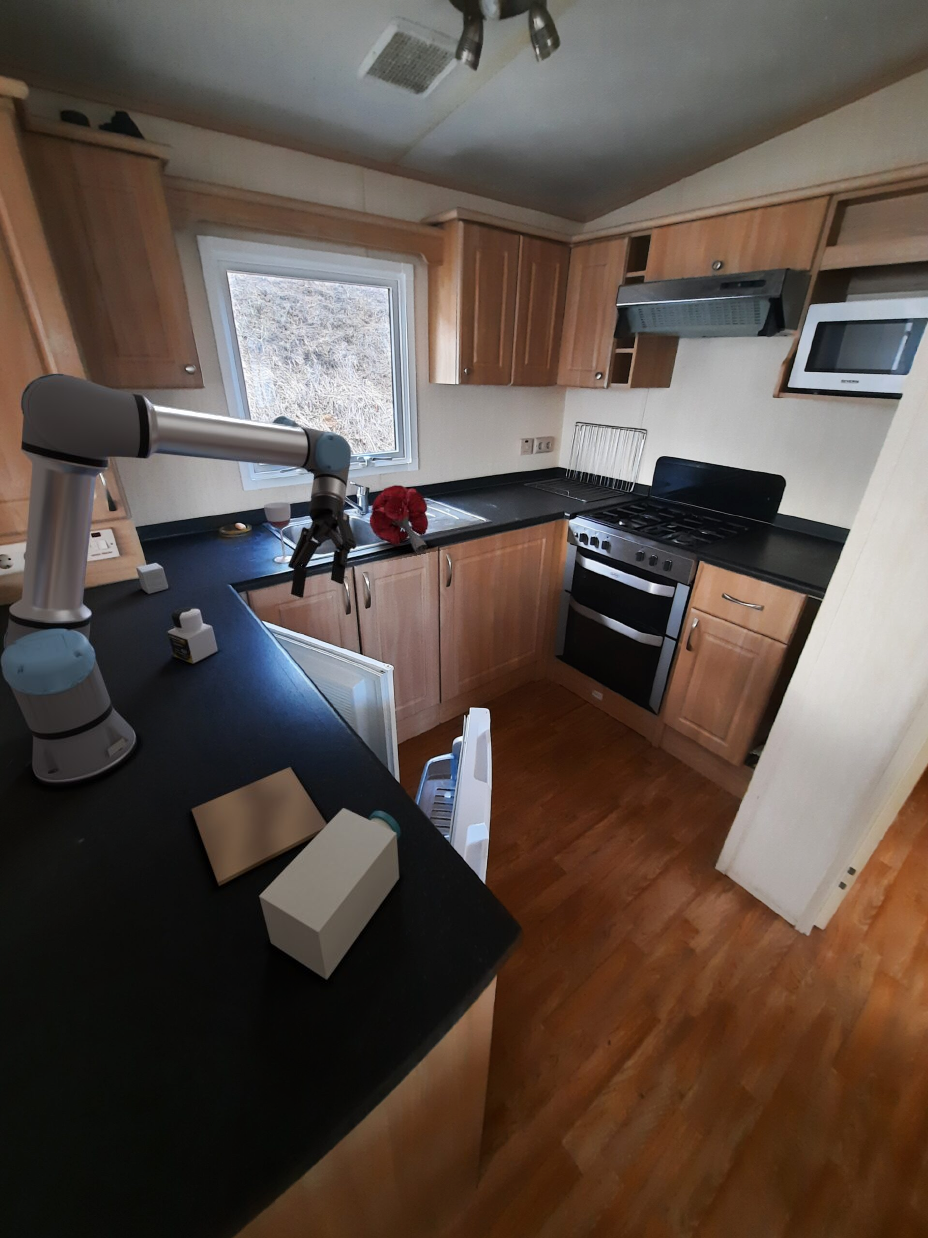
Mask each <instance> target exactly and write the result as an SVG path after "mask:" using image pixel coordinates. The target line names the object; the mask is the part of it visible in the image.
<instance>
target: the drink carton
mask: <svg viewBox="0 0 928 1238" xmlns="http://www.w3.org/2000/svg"><path fill="white" fill-rule="evenodd" d="M326 824H327V825H326V826H325V828H324V829H323V830H322V831H321V832H320V833H319V834H318V835H317V836H315V837H313V839H312V840H311V841H310V842H309V843H308V844H307V845H306V846H305V848H303V849H302V850H301V852H300V853H298V854H297V856H296V857H295V858H294V859H293V860H292V861H290V863H289V864H288V865H287V866H286V867H285V868H284V869H283V870H282V872H280V873H279V875H277V876H276V878H275V879H273V881H272V882H271V883H270V884H269V885H268V886H267V887H266V888H265V889H264V890H263V891H262V892H261V893H260V895H258V897H259V899H260V900H259V901H260V904H261V909H262V912H263V917H264V921H265V924H266V925H265V926H266V928H267V933H268V937H269V940H270V943H271V945H273V946H275V947H276V948H278V949H279V950H281V951H282V952H284V953H285V954H287V955H288V956H290V957H292V959H295V960H296V961H297V962H299V963H301V964H302V965H304V966H305V967H307V968H308V969H310V970H311V971H312V972H314V973H315V974H318V975H319V976H320V977H322V978H323V979H325V980H328V979H329V978H330V976H331V975H332V973H333V972H334V971H335V969H336V968H337V967H338V965H339V964H340V962H341V961H342V960H343V958H344V957H345V955H346V954H347V952H348V951H349V950H350V948H351V947H352V945H353V944H354V942H355V941H356V940H357V938H358V937H359V936H360V934H361V932H362V931H364V930H363V929H365V927H366V926H367V924H368V923H369V922H370V920H371V918H372V917H373V916H374V914H375V913H376V912H377V910H378V909H379V907H380V905H381V904H382V903H383V902H384V900H385V899H386V897H387V896H388V895H389V893H390V892H391V891H392V889H393V888H394V886H395V885H396V883H397V882H398V880H399V879H400V870H399V869H400V867H399V855H398V854H399V852H398V840H399V838H400V837H401V834H402V832H401V831H402V830H401V827H400V825H399V824H398V822H397V821H396V820H395V818H393V816H392V815H390V814H389V813H387V812H385V811H382V810H375V811H373V812H372V813H371V814H370V815H369V817H368V818H366V817H363V816H361V815H359V814H358V813H355V812H352V810H350V809H347V808H345V807H343V808H341V809H340V810H339V812H338V813H336V815H335V816H334V817H333V818H332V819H331V820H330V821H329V822H328V823H326Z"/></svg>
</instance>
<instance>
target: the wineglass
mask: <svg viewBox="0 0 928 1238" xmlns="http://www.w3.org/2000/svg"><path fill="white" fill-rule="evenodd" d="M263 509H264V513H265V517H266V520H267V522H268V524H269V526H270V527H272V528H274V529H277V530H279V536H280V543H281V549H282V555H281V556H277V557H275V558H274V562H276V563H280V564H281V563H282V564H283V563H289V562H290V560H291V557H292V555H286V549H285V542H284V537H283V529H285V528H287V527H288V526H289V524H290V523H291V503H288V502H269V503H266V504H264V505H263Z"/></svg>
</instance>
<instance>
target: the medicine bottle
mask: <svg viewBox="0 0 928 1238" xmlns="http://www.w3.org/2000/svg"><path fill="white" fill-rule="evenodd" d="M171 618H172V624H173V626H174V628H172V629H169V630H167V636H168V639H169V642H170V646H171V650H172V653H173V656H174V657H175V658H177V659H180V660H183V661H185V662H187V663H191V664H195V663H197V662H199V661H202V660H203V659H205V658H207V657H209V656H211V655H213V654H215V653H216V652H218V650H219V649H218V645H217V642H216V637H215V633H214V629H213V626H212V625H210V624H206V623H204V621H203V617H202V613H201V610H200V609H199V608H198V607H195V606H184V607H180V608H178V609H175V610H174V611H173V612H172V613H171Z"/></svg>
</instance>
